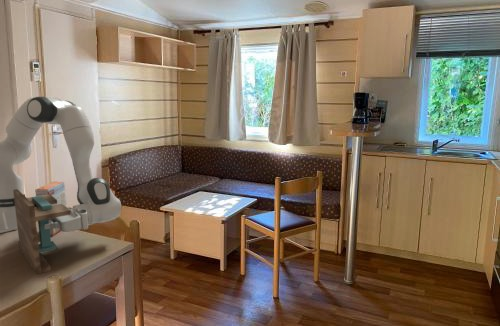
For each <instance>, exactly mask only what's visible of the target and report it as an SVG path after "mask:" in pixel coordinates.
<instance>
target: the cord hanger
mask: <svg viewBox="0 0 500 326" xmlns="http://www.w3.org/2000/svg"><path fill="white" fill-rule="evenodd" d="M31 197H32V201H33V202H34V203H35V204H36V207H35V208H40V209H41V210H42V211H43V210H49V209H52V205H51V204H50V203H49V202H47V201H46V200H45V199H44V198H43V197H42V196H36V195H35V196H31ZM37 223H38V226H37V227H38V233H39V234H38V235H39V243H38V247H39V253H41V254H42V253H44V252H49V251H53V250H56V249H58V245H57V244H56V243H55V241H53V240H52V239H51V237H52V236H50V229H45V228H44V224H46V223H49V219H45V220H39V221H37Z"/></svg>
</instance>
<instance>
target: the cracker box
mask: <svg viewBox="0 0 500 326" xmlns="http://www.w3.org/2000/svg"><path fill="white" fill-rule="evenodd" d="M65 185H66V184H65V181H50V182H49V183H47V184H45V185H43V186H40V187H38V188H37V189H36V188H35V197H36V196H43V195H49V194H50V195H51V196H53V197H54V198H55V199H56V200H57V204H52V205H58V204H63V205H64V206H65V207H67V208H68V206H67V204H68V203H67V198H66V197H67V196H66V188H65V187H66V186H65ZM49 223H53V222H52V221H51V220H49ZM59 232H62V231H61V230H60V229H59V228H57V229H50V237H54V236H55V235H56V234H58V233H59Z"/></svg>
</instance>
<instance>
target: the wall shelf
mask: <svg viewBox="0 0 500 326" xmlns="http://www.w3.org/2000/svg"><path fill="white" fill-rule="evenodd" d="M13 193H14V201H15V210H16V219H17V227H18V229H17V237H18V244H19V250H20V251H21V252H22V254H23V256H24V258H25V259H26V260H27V262H28V263H29V265H30V267H31V268H32V269H33V272H34V273H35V275H38V274H42V273H45V272H49V271H51V269H52V268H51V265H50V264H49V262H48V261H47V259H46V258H44V256H43V255H42V252H41V253H39V247H38V244H39V238H38V230H37V229H38V228H37V222H38V221H39V220H45V219H50V218H55V217H60V216H65V215H71V212H70V210H69V209H70V208H69V207H68V206H67V207H65V206H64V205H63V204H58V205H52V204H57V200H56V199H55V198H54V197H53V196H51V195H50V194H49V195H43V196H42V197H43V198H44V199H45V200H46V201H47V202H49V203H50V204H51V205H52V209H49V210H43V211H42V210H41V209H40V208H37V207H36V204H35V203H34V202H33V201H32V197H33V196H30V197H26V195H25V196H24V195H23V194H22V193H21V192H20V191H19V190H18V189H15V190H13ZM68 208H69V209H68Z"/></svg>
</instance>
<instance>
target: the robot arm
mask: <svg viewBox="0 0 500 326" xmlns="http://www.w3.org/2000/svg"><path fill="white" fill-rule="evenodd" d="M43 124H47V125H59V126H60V127H61V131H62V134H63V137H64V141H65V144H66V147H67V149H68V151H69V155H70V158H71V159H70V160H71V162H72V166H73V169H74V175H75V178H76V182H77V192H76V200H77V202H78V204H75V205H72V208H71V209H70V208H69V207H67V208H68V209H69V210H70V212H71V215H65V216H60V217H55V218H50V219H49V220H51V221H52V222H53V223H46V224H44V228H45V229H57V228H59V229H60V230H61V231H60V232H66V233H67V232H74V231H78V230H79V231H80V230H83V231H84V230H85V231H86V230H88V229H89V226H92V225H94V224H96V223H97V224H101V223H107V222H110V221H113V220H115V219H117V218H118V217H120V215H121V213H122V212H121V211H122V207H123V206H122V203H121V202H122V201H121V200H120V198H118V197H116V194H114V193H113V191H112V189H111V187H110V184H109V182H108V181H107V180H105V179H104V178H101V177H93V174H92V170H91V165H90V159H91V154H92V151H93V148H94V145H95V138H94V137H95V136H94V131H93V129H92V125H91V124H90V121H89V118H88V116H87V115H86V113H85V110H84V109H83V108H82V107H80V106H79V105H76V104H75V103H74V102H72V101H69V100H64V99H62V98H57V97H45V96H35V97H30V98H28V99H27V100H26V101H24V102H23V103H22V104H21V106H20V107H19V108H18V109H17V110H16V111H15V113H14V114H13V116H12V118H11V119H10V121H9V122H8V123H7V125H6V126H5V133H6V134H7V135H6V138H5V139H4V140H2V141H1V142H0V234H2V233H3V234H4V233H7V232H10V231H16V230H17V231H18V227H17V219H16V210H15V201H14V193H13V190H15V189H18V190H19V191H20V192H21V193H22V194H23V195H24V196H25V197H26V194H25V193H24V192H25V191H24V184H23V183H24V182H23V181H24V180H23V178H22V177H21V176H20V175H19V174H17V173H16V171H15V170H14V166H15V165H18V164H21V163H23V162H24V161H26V160H28V159H29V158H30V156H31V153H32V150H31V147H30V146H31V143H32V141H33V139H34V137H36V134H37V133H38V131H39V130H40V128H41V127H42V125H43Z"/></svg>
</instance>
